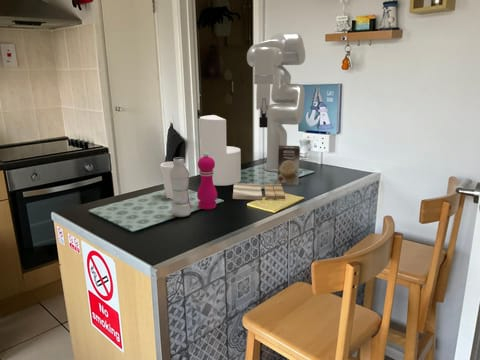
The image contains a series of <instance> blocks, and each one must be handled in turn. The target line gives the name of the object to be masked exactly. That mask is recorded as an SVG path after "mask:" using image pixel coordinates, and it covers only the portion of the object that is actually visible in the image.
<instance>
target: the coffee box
mask: <svg viewBox="0 0 480 360" xmlns="http://www.w3.org/2000/svg"><path fill="white" fill-rule="evenodd" d="M300 154H301V147H300V145H287V146H283V145H279V148H278V172H276V173H277V177H276V184H282V185H283V186H284V185H285V186H299V177H300V173H299V172H300V157H301V156H300Z"/></svg>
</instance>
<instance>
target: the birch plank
mask: <svg viewBox="0 0 480 360" xmlns="http://www.w3.org/2000/svg"><path fill="white" fill-rule="evenodd" d="M232 199H233V200H253V201H254V200H255V201H256V200H257V201H263V194H262V185H261V183H243V182H242V183H240V182H238V183H234V184H233V192H232Z"/></svg>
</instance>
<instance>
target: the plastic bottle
mask: <svg viewBox="0 0 480 360" xmlns="http://www.w3.org/2000/svg"><path fill="white" fill-rule="evenodd" d="M172 160H173V161H172V162H173V164H174V166H173V168H172V169H171V171H170V180H171V185H172V193H173V197H172V199H171V201H172V202H171V213H172V214H173V216H174V217H177V218H184V217H188V216H190V215H191V212H192V206H191V205H192V204H191V202H190V201H191V200H190V195H189V185H190V184H189V183H190V171H189V170H188V168H187V167H186V161H185V157H183V156H178V157H176V156H175V157H173V159H172ZM184 164H185V166H184Z"/></svg>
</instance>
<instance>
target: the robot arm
mask: <svg viewBox="0 0 480 360" xmlns="http://www.w3.org/2000/svg"><path fill="white" fill-rule="evenodd" d="M305 60H306V50H305V43H304V40H303V37H302V36H301V34H300V33H298V32H283V33H282V32H280V33H276V34H274V35H273V36H272V37H271V38H270V39H268V40H265V41H261V42H258V43H255V44H253V45H251V46H250V47H249V49H248V50H247V53H246V61H247V62H246V63H247V64H248V65H249V66H250V67H252V68H254V69H253V70H254V71H253V82H254V83H253V84H254V85H256V92H255V94H256V95H255V96H256V98H255V101H256V102H255V103H256V106H255V107H256V110H257V111H259V119H258V120H259V123H258V126H259V128H266V129H267V130H266V131H267V132H266V141H267V142H266V164H265V165H263V170H265V171H266V172H267V171H268V172H274V173H278V148H279V145H283V146H288V133H287V130H286V129H285V127H284V126H283V125H291V126H293V125H300V124H301V123H302V120H303V116H304V107H305V100H306V99H305V97H306V96H305V95H306V92H305V87H304V86H303V85H302V84H300V83H292V81H291V80H292V75H291V73H290V72H289V70H287V68H286V67H285V66H300V65H303V64H304V62H306V61H305ZM271 85H272V86H271ZM271 87H272V88H271ZM271 101H272V102H273V103H272V104H270V102H271Z"/></svg>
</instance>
